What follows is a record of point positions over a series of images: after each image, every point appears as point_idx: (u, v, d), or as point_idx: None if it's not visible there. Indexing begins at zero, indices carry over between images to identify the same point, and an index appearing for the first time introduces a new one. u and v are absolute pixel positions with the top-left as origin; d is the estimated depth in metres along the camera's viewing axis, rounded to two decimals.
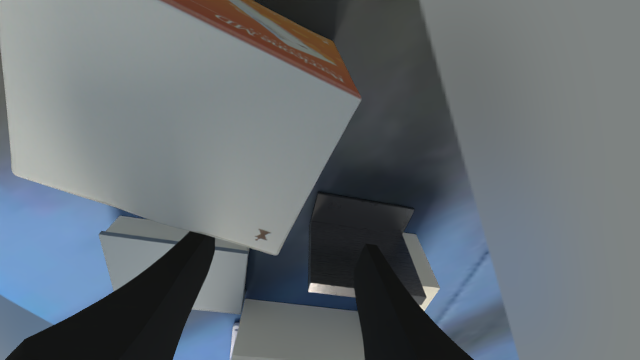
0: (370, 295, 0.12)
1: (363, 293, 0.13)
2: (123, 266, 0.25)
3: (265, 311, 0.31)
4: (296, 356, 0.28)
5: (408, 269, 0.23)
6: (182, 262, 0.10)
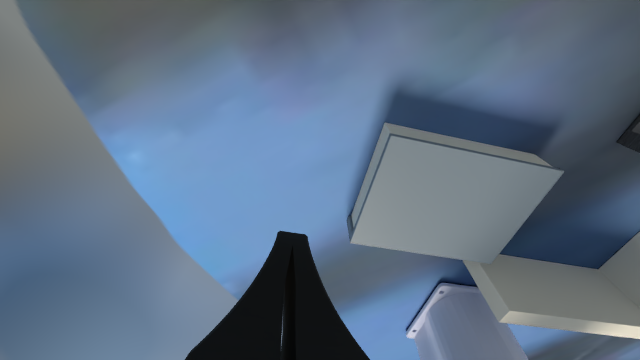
0: (289, 285, 0.11)
1: (286, 284, 0.12)
2: (391, 189, 0.19)
3: (502, 264, 0.25)
4: (577, 315, 0.22)
5: None
6: (282, 275, 0.10)
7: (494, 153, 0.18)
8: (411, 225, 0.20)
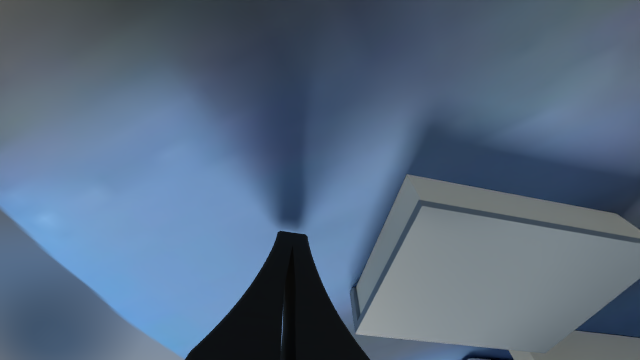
0: (289, 285, 0.11)
1: (286, 284, 0.12)
2: (417, 273, 0.13)
3: (555, 345, 0.19)
4: None
5: None
6: (282, 275, 0.10)
7: (570, 221, 0.12)
8: (442, 314, 0.14)
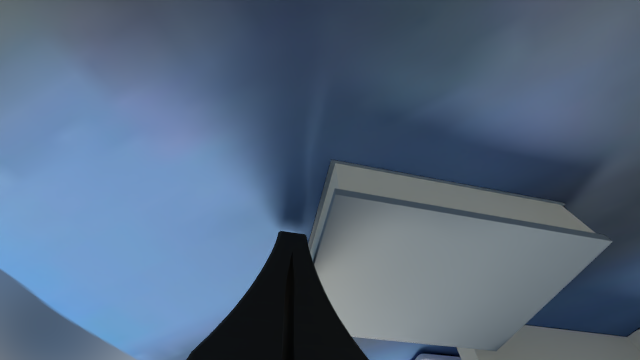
0: (288, 285, 0.11)
1: (285, 283, 0.12)
2: (345, 266, 0.12)
3: None
4: None
5: None
6: (283, 275, 0.10)
7: (503, 212, 0.12)
8: (380, 310, 0.14)
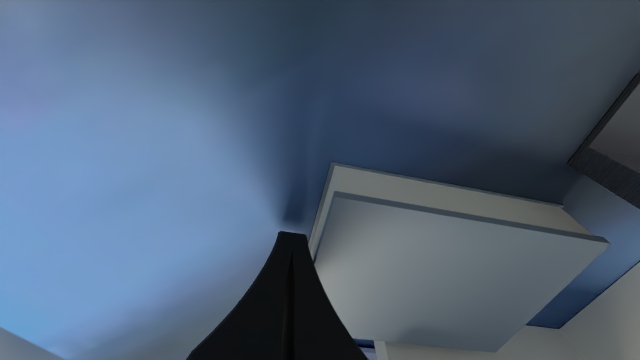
0: (288, 285, 0.11)
1: (286, 284, 0.12)
2: (345, 268, 0.12)
3: None
4: None
5: None
6: (283, 275, 0.10)
7: (502, 214, 0.12)
8: (380, 311, 0.14)
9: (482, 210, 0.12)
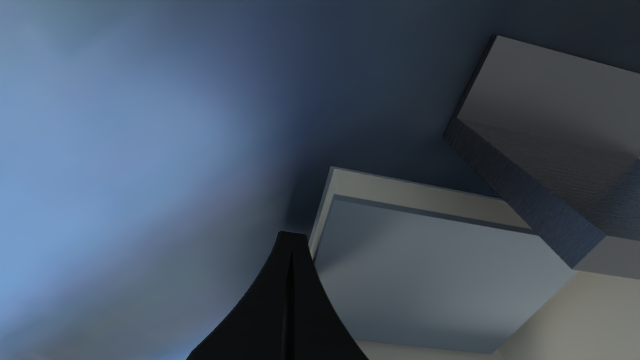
0: (288, 285, 0.11)
1: (286, 283, 0.12)
2: (343, 270, 0.12)
3: None
4: None
5: None
6: (283, 275, 0.10)
7: (498, 218, 0.12)
8: (377, 312, 0.14)
9: (478, 213, 0.12)
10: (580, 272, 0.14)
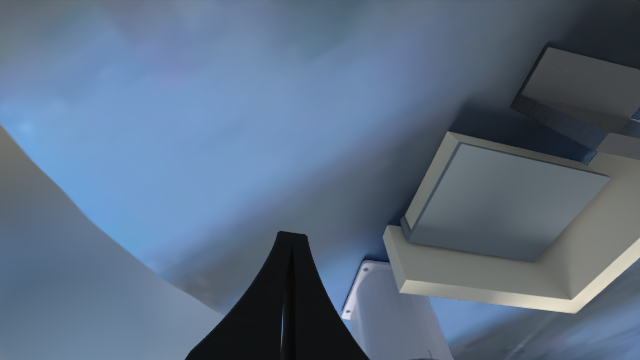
0: (289, 285, 0.11)
1: (286, 284, 0.12)
2: (454, 192, 0.20)
3: None
4: (480, 285, 0.21)
5: None
6: (282, 275, 0.10)
7: (548, 160, 0.20)
8: (466, 225, 0.22)
9: (536, 157, 0.20)
10: None
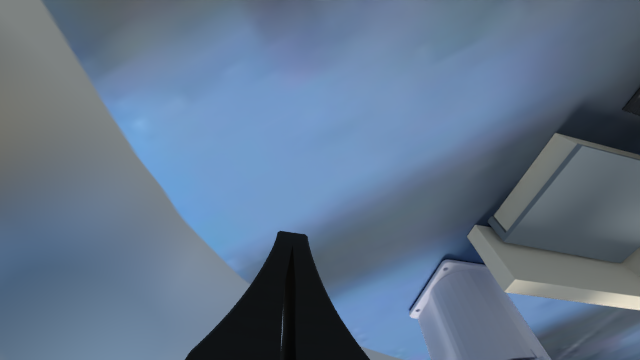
0: (289, 285, 0.11)
1: (286, 284, 0.12)
2: (562, 193, 0.21)
3: None
4: (582, 285, 0.22)
5: None
6: (282, 275, 0.10)
7: None
8: (565, 226, 0.22)
9: None
10: None
